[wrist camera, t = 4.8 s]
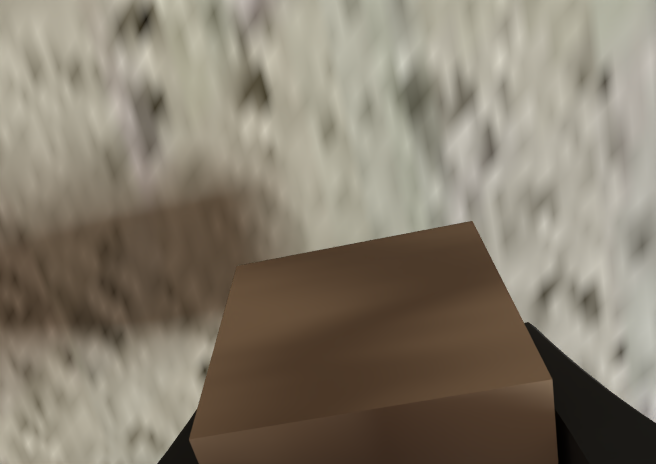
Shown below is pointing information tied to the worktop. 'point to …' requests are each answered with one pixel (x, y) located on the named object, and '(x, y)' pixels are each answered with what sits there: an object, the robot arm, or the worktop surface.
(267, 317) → the walnut block
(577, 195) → the worktop surface
